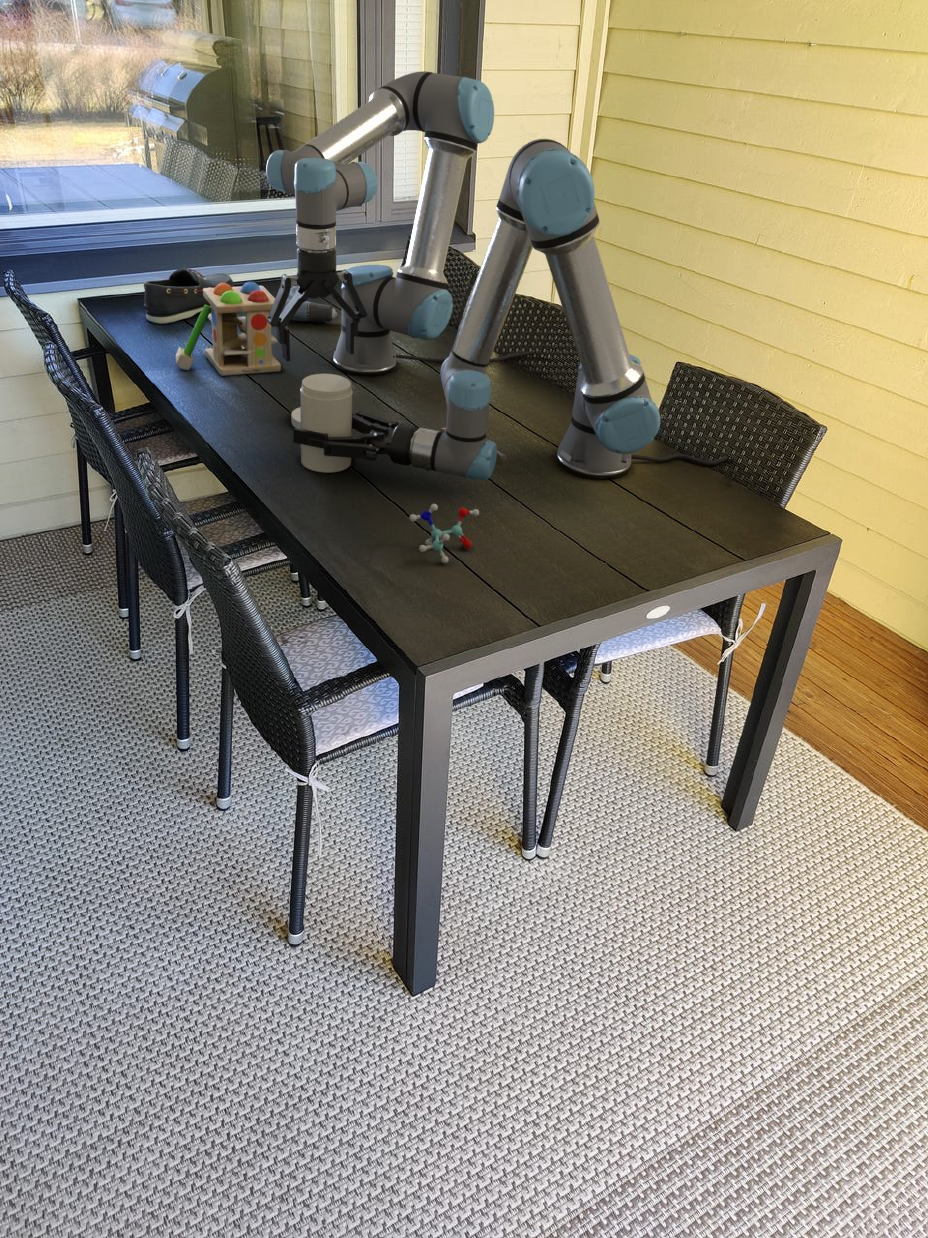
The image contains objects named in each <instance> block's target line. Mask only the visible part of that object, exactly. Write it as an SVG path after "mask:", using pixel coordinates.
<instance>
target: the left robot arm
mask: <svg viewBox="0 0 928 1238" xmlns="http://www.w3.org/2000/svg"><path fill="white" fill-rule="evenodd" d="M494 122H495V106H494V100H493V96H492V93H491V91H490V89H489V87H488V86H487V85H486V83H484V82H482V81H481V80H477V79H474V78H470V77H467V76H458V75H451V74H443V73H438V72H432V71H415V72H410V73H408V74H404V75H402V76H399V77H397V78H395V79H392V80H390V81H389V82H387V83H384V84H383V85H382V86H380V87H379V88H377V89H375V90H374V91H373V92H372V93H371V94H370V96H369V99H368V101H367V102H366V103H364V104H363V105H360V107H358V108H357V109H354V111H352V112H351V113H348V115H346V116H345V117H343V118H342V119H340V120H339V121H337V122H336V123H334V124H332V125H331V126H330V127H328V128H327V129H325V130H323V131H322V132H320V133H319V134H318V135H315V136H314V137H313V138H311V140H309V141H307V142H306V143H304V144H303V145H301V146H300V147H298V148H296V149H295V150H293V151H290V150H288V149H284V150H283V149H278V150H275V151H273V152H272V153H271V154H270V155H269V157H268V159H267V162H266V166H265V167H266V168H265V174H266V179H267V181H268V184H269V186H270V187H272V188H273V189H275V190H276V191H279V192H283V193H285V194H286V195H294V199H295V200H294V201H295V202H294V203H295V236H296V237H295V238H296V239H295V240H296V241H295V243H296V246H297V247H298V248H297V249H296V269H297V272H296V275H288V274H286V273H283V274H282V275H281V277H280V287H279V289H278V292H277V294H276V296H275V297H274V298H275V300H274V303H273V305H272V308H271V310H270V312H269V315H268V317H267V322H268V323H269V324H270V325H271V328H273V327H274V328H276V339H277V341H278V342H277V343H279V345H281V353H282V354H281V356H282V358H283V359H284V360H285V361H286V362H291V343H290V342H291V340H290V328H289V327H288V324H289V323H290V321H292V320H291V319H292V317H293V316H294V314H295V313H296V312H297V310H298V309H299V308H300V306H301V305H302V304H303V302H305V301H307V300H308V299H309V298H310V299H311V300H313V299H317V298H321V299H325V298H327V297H328V296H331V297H332V298H333V300H334V301H335V302H336V303H337V304H338V305H339V306H340V308H341V313H340V314H341V316H340V317H341V319H340V321H341V324H340V325H341V326H340V329H341V330H340V336H339V338H338V341H337V344H336V346H335V347H334V348H333V361H332V362H333V363H332V364H333V366H334V367H335V368H337V369H338V370H339V371H342V372H344V373H347V374H352V375H356V376H380V375H381V376H382V375H386V374H389V373H391V372H393V371H395V369H396V368H397V361H398V360H397V359H402V360H403V359H404V360H412V361H420V362H427V363H443V362H444V361H445V360H446V359H447V358H435V357H434V358H433V357H423V356H414V355H406V354H398V353H396V352H395V347H394V343H393V341H392V337H391V336H392V335H391V332H393V333H394V332H395V333H398V334H402V335H404V336H408V337H410V338H412V339H418V340H423V341H431V340H434V339H436V338H437V337H439V336H440V335H441V334H442V332H443V331H444V330H445V329H446V327H447V326H448V324H449V322H450V320H451V317H452V313H453V308H454V303H453V296H452V294H451V293H450V292H449V291H448V290H447V286H448V283H449V282H448V280H447V278H446V276H445V275H444V270H445V265H446V260H447V255H448V252H449V246H450V242H451V238H452V233H453V228H454V227H453V226H454V224H455V218H456V214H457V209H458V204H459V199H460V195H461V191H462V185H463V182H464V177H465V172H466V171H465V170H466V167H467V163H468V160H469V159H470V158H471V157H473V156H474V155H475V154H477V149H478V145H479V144H482V143H485V142H487V140H488V139H489V136H490V135H491V134H492V131H493V127H494ZM406 131H417V132H423V133H424V135H423V141H424V143H425V145H426V146H427V149H428V151H427V157H426V161H425V167H424V171H423V177H422V181H421V185H420V191H419V195H418V200H417V205H416V210H415V216H414V220H413V225H412V231H411V235H410V241H409V246H408V249H407V255H406V259H405V260H406V261H405V264H404V265H402V266H401V267H399V268H398V269H397V272H396V276H395V277H394V269H393V268H392V267H391V266H389V265H384V264H361V265H355V266H351V267H349V268H346V269H345V268H344V269H343V270H342V271H341V272H338V271H337V250H336V249H335V248H336V247H337V211H341V210H346V209H349V208H353V207H360V206H362V205H364V204H365V203H368V202H371V201H372V200H373V199H374V198H375V196H376V195H377V191H378V178H377V174H376V172H375V170H374V169H373V168H372V167H371V165H369V164H368V163H366V162H364V161H354V160H356V159H357V158H358V157H360V156H361V155H362V154H364V153H365V152H367V151H368V150H370V149H371V148H372V147H374V146H375V145H377V144H378V143H380V142H381V141H383V140H384V139H385V138H387V137H388V136H389V137H395V136H399V135H400V134H402V132H406ZM339 281H340V282H341V287H340V289H341V295H340V293H339V292H338V291H337V290H336V289H335V287H336V285H337V283H338V282H339ZM295 283H297V284H298V285H299V288H298V289H297V290H296V292H295V295H294V297H293V298H292V299H291V301H290V302H289V303H288V305H287V306H286V308H285V309H284V310H283V308H284V305H285V303H286V301H287V298H288V296H289V293H290V290H291V288H293V286H294V284H295ZM282 310H283V312H282ZM281 312H282V313H281ZM530 352H531V351H525V352H517V353H510V354H506V355H504V356H499V357H493V358H490V361H489V363H497V362H502V361H505V360H509V359H512V358H513V359H514V358H519V357H527V356H535V355H534V354H530ZM537 356H538V357H540V358H542V359H543V360H545V359H544V358H543V357H541V356H539V355H537Z"/></svg>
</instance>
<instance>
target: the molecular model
mask: <svg viewBox="0 0 928 1238" xmlns="http://www.w3.org/2000/svg"><path fill="white" fill-rule="evenodd" d="M438 508H439V506H438V505H437V504H436V503H432V504H431V505H430V508H429V510H427V509H426V510H424V511H423V512H421V514H417V515H416V514H414V513H412V514H410V515H409V517H408V518H409V521H410V522H416V521H417V520H420V519H423V520H424V521H426V522H427V523H428V524H429V527H430V529H431V530H432V531H431V534H430V535H431V536H430V538H427V539H426V540H425V541H424V544H421V545H419V546H418V550H419V552H421V553H425V552H426V551H428V550H433V551H435V552H438V553H439V555H440V557H441V560H440V561H441V563H443V564H448V563H449V562H450V561H449V557H448V556H446V555H445V552H444V551H443V548H444V542H448V541H450V537H451V536H450V534H452V535H453V536H454V537H457V538H458V540H459V542H461V544H462V548H464V549H465V550H468V549H470V548H471V547H472V545H473V543H472V541H471V540H470V539H467V537H466V536H465V534H464V533H463V529H462V527H461V525H462V522H463V519H464V518H465V517H467V515H472V516H473V517H478V516H479V515H480V511H479V509H478V508H475V509H473V510H468V509H467V508H465V507H460V508H459V509H458V510H457V511H458V513H457V514H458V515H459V517H458V520H457V523H456V525H453V526H452V527H451V529H448V530H443V531H441V529H439V528H436V526H435V525H434V523H433V521H432V517H433V515H432V513H433V512H437V510H438Z"/></svg>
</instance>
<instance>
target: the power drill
mask: <svg viewBox="0 0 928 1238" xmlns="http://www.w3.org/2000/svg"><path fill="white" fill-rule="evenodd" d="M298 288H299V285H298V284H297V283H295V284H294V286H293V288H291V290H290V293H289V296H288V298H287V301H286V303H285V305H284V308H283V310H284V309H285V308H286V306H287V305H288V303H289V302H290V301H291V299H292V298H293V297H294V295H295V292H296V290H297V289H298ZM283 310H282V312H283ZM282 312H281V313H282ZM337 317H338V312H337V311H336V308H334V307H333V306H332V305H331V304H324V303H317V302H313V301H307V300H306V301H305V302H303V304H302V305H301V306H300V308H299V309H298V310H297V312H296V313H295V314H294V316H293V317H292V319H291V320H290V321H294V322H295V321H297V322H332V321H333V320H334V319H336V318H337Z"/></svg>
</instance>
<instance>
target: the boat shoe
mask: <svg viewBox="0 0 928 1238" xmlns="http://www.w3.org/2000/svg"><path fill="white" fill-rule="evenodd" d="M221 283H226V284H228V285H230V286H231V287H235V283H234V280H233V279H232V278H231V276H230V275H229V274H227V273H224V272H223V273H222V272H221V273H214V274H208V275H205V276H204V275H203V274H201V273H200V272H199V271H197V270H195V269H191V268H187V267H180V268H177V269H176V270H174V271H173V272H172V273H171V274H170V275H169V277H167V278H166V279H161V280H147V281H144V282H143V288H144V289H143V290H144V304H143V308H144V309H145V310H146V311H145V316H146V317H145V318H146V320H147V321H149V322H151V323H155V324H169V323H174V322H178V321H180V320H184V319H188V318H191V317H194V315H196V314H197V313H201V311H202V309H203V307H204V305H208V306H210V307H211V305H210V304H209V302H208V301H207V300H206V299H205V297H204V296H203V289H204V288H215V287H216V286H217V285H218V284H221Z"/></svg>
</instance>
